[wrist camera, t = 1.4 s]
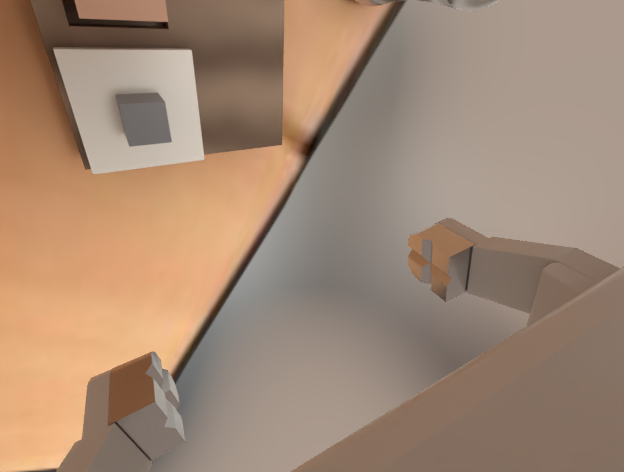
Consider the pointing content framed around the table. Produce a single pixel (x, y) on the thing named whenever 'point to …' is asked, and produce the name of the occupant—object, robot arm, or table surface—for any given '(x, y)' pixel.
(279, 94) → the board
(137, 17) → the block
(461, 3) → the plastic bottle
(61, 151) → the table surface
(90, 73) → the lid
